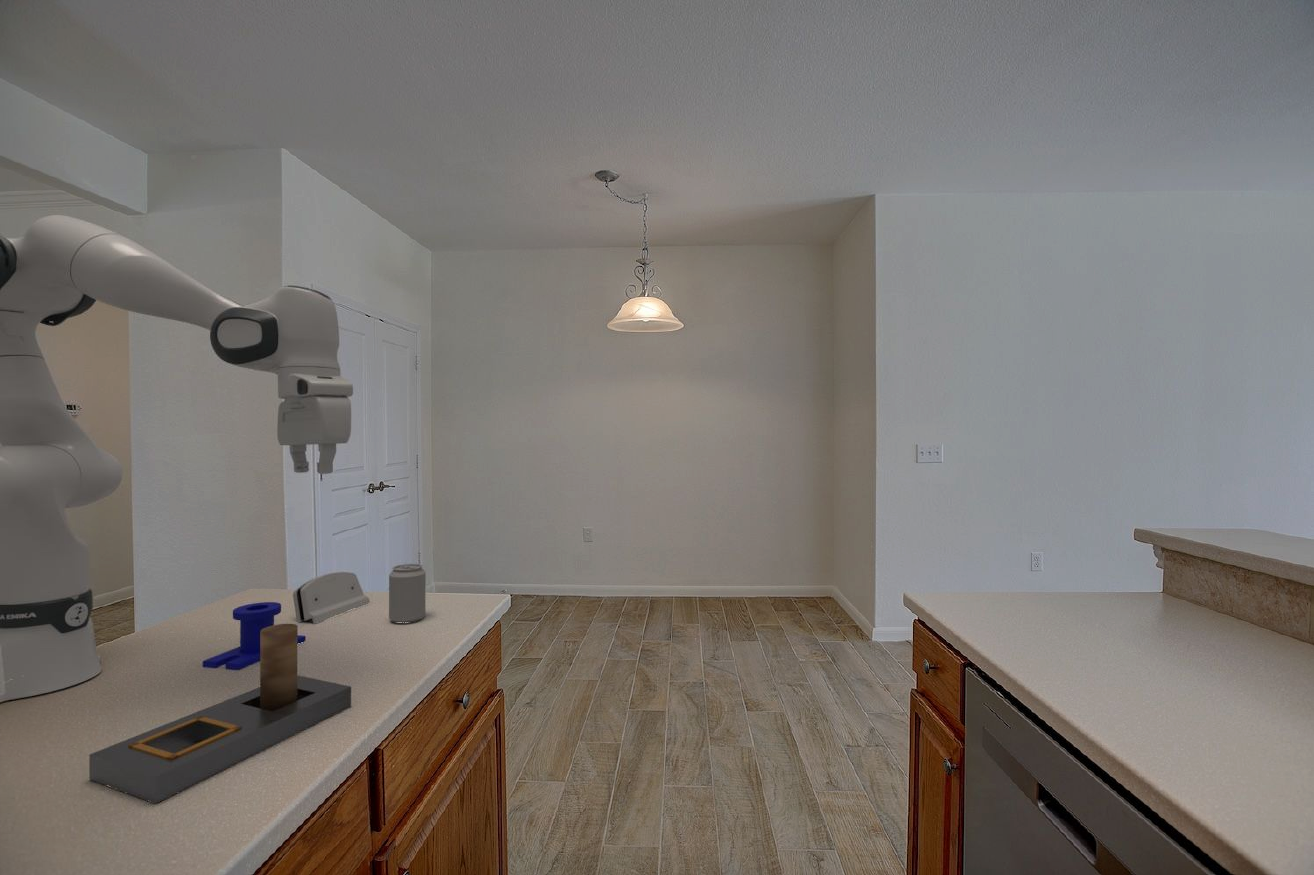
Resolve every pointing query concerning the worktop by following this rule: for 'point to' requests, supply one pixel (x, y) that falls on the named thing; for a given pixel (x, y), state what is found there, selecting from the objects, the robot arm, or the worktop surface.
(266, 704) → the peg
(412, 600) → the can
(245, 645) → the mount
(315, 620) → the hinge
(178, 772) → the grey slotted board
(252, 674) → the worktop surface
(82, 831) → the worktop surface
